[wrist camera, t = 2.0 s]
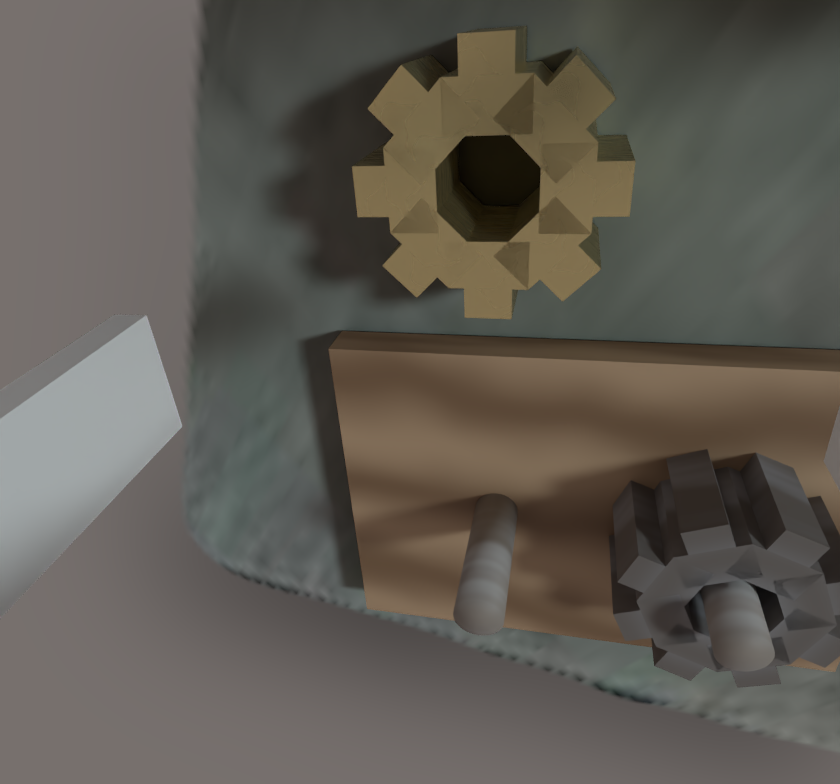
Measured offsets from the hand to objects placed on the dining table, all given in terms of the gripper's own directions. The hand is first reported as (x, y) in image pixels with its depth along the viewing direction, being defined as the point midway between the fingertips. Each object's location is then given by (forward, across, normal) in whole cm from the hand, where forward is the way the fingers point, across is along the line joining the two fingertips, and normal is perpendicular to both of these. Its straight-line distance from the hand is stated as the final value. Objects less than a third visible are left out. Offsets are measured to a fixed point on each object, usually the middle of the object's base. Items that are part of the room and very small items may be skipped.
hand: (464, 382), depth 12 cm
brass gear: (+17, -1, +1) cm, 17 cm away
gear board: (+17, +4, -16) cm, 24 cm away
